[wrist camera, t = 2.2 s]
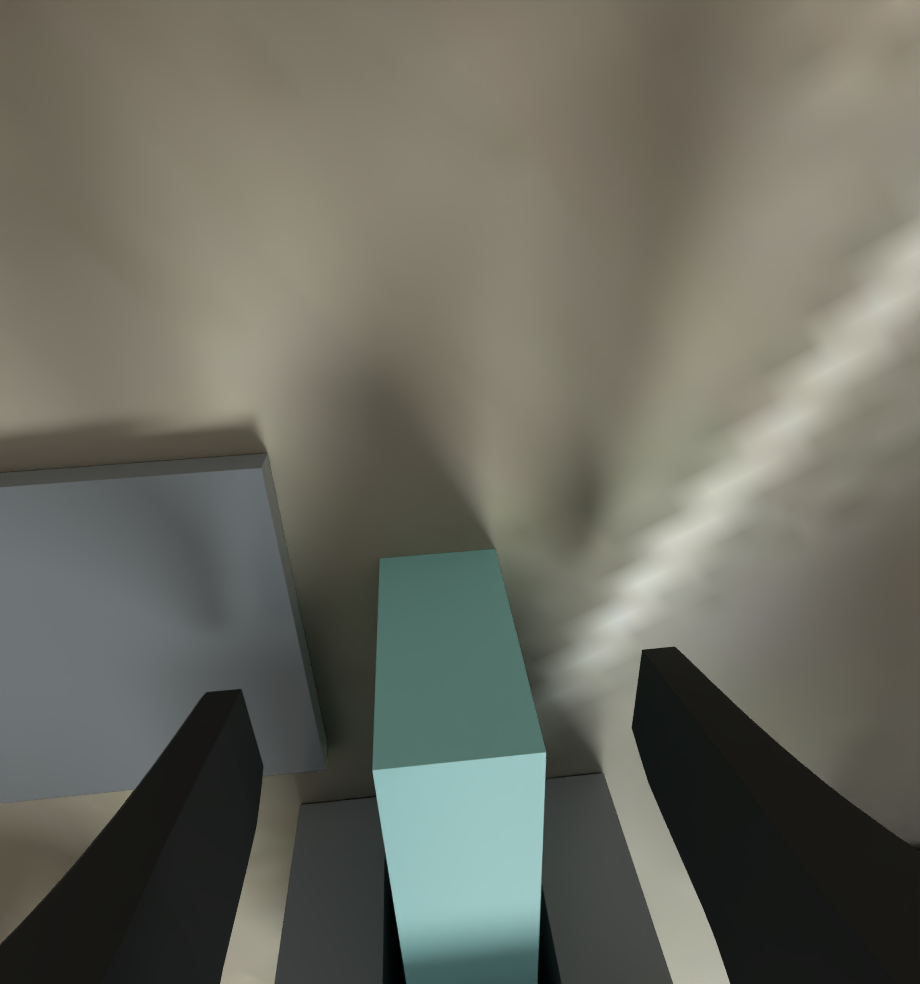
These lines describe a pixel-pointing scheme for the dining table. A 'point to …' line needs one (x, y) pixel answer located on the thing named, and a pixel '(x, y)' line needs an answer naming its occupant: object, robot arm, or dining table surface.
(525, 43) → the dining table surface
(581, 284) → the dining table surface
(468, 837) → the tall teal prism
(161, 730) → the coaster
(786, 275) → the dining table surface
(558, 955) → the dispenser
